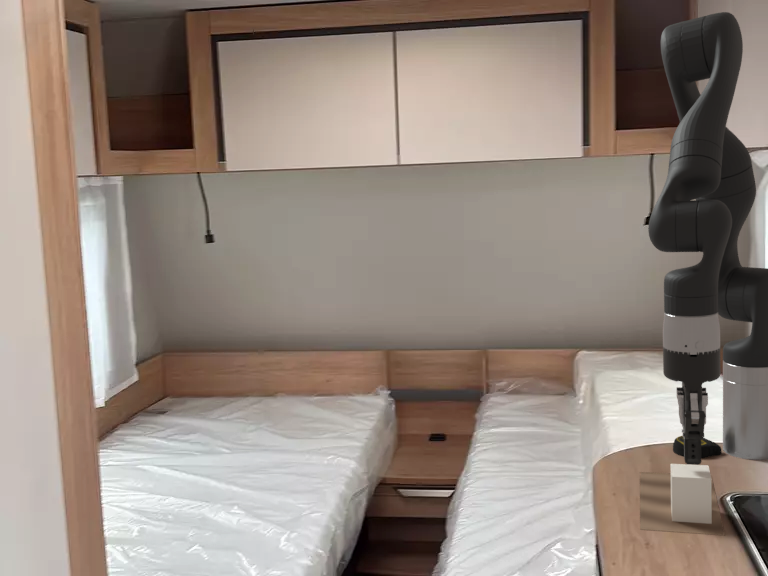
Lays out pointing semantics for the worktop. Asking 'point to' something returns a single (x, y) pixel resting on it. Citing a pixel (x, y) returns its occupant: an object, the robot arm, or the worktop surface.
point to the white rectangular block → (691, 493)
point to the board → (659, 508)
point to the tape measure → (706, 447)
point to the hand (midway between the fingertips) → (692, 462)
